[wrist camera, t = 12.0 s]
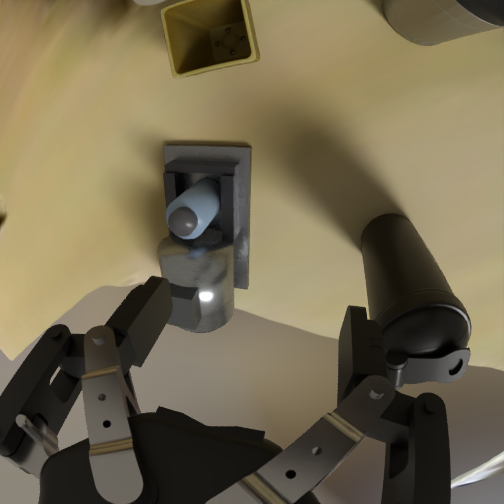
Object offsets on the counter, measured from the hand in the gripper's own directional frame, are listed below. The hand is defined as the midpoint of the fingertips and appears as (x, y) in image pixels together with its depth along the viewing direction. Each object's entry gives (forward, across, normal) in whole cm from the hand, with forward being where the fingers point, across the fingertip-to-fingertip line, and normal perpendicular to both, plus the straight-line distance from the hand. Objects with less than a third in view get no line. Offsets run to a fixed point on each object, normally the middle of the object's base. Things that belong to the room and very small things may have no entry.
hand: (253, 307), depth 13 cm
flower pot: (+28, +9, -15) cm, 33 cm away
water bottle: (+28, -14, +10) cm, 33 cm away
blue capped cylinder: (+27, +12, +6) cm, 30 cm away
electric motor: (+28, +12, +11) cm, 32 cm away
